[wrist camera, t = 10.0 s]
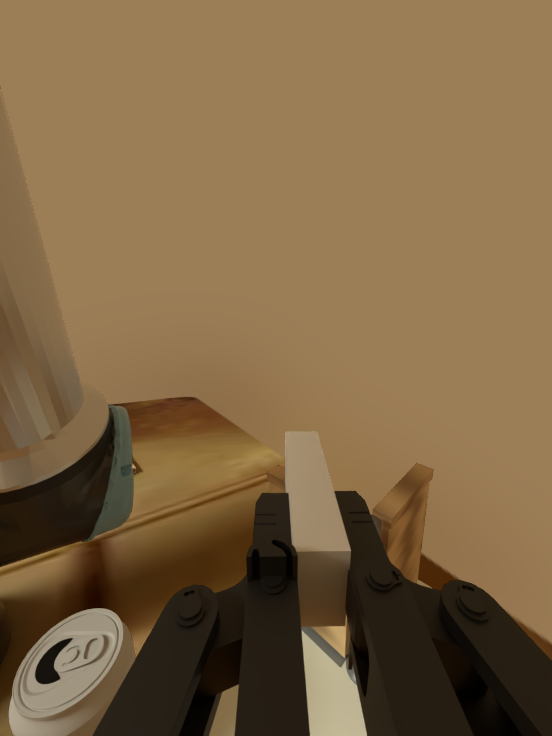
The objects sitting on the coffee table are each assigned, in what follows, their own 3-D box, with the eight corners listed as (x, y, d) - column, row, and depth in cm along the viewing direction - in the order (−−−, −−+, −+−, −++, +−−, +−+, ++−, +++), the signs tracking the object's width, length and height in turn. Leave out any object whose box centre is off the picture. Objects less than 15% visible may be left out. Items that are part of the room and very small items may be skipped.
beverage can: (68, 734, 24) (33, 617, 21) (156, 703, 25) (136, 590, 22) (29, 883, 18) (-27, 748, 15) (147, 829, 19) (118, 699, 16)
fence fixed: (379, 659, 28) (392, 519, 24) (363, 645, 29) (372, 509, 25) (418, 588, 34) (433, 469, 30) (404, 579, 35) (416, 463, 31)
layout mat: (170, 677, 27) (169, 672, 27) (328, 527, 43) (328, 523, 43) (314, 937, 16) (314, 930, 16) (453, 605, 33) (454, 600, 32)
